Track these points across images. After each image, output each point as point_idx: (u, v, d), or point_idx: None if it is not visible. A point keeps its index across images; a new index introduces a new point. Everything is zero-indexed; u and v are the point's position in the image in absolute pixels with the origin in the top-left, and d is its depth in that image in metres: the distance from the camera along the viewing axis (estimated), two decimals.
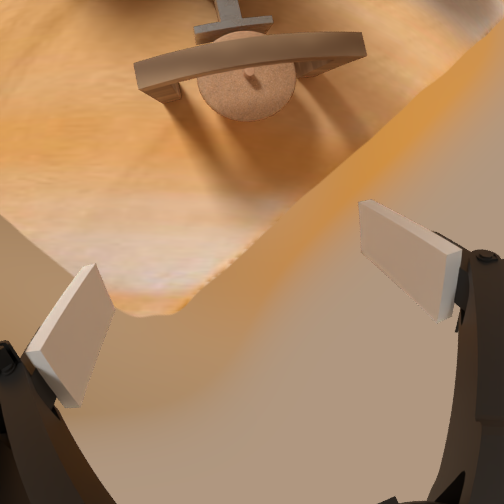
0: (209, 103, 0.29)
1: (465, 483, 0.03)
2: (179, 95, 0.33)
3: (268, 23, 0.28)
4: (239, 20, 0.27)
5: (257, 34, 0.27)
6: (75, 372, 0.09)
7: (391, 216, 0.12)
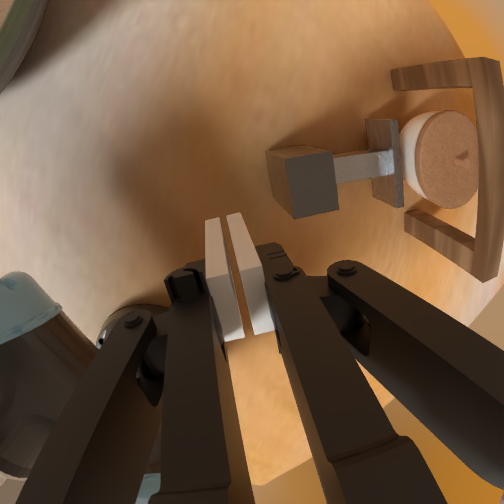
0: (470, 198, 0.28)
1: None
2: None
3: None
4: (395, 157, 0.27)
5: (425, 144, 0.25)
6: (237, 304, 0.12)
7: (236, 230, 0.14)
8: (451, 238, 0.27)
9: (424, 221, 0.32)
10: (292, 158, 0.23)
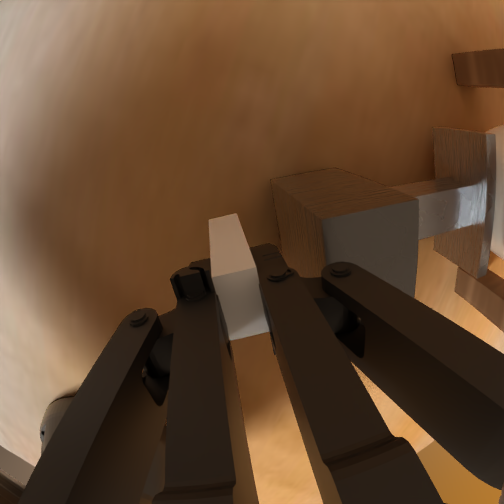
0: None
1: None
2: (494, 273, 0.20)
3: None
4: (488, 199, 0.14)
5: None
6: None
7: (231, 231, 0.14)
8: None
9: (489, 285, 0.19)
10: (339, 218, 0.10)
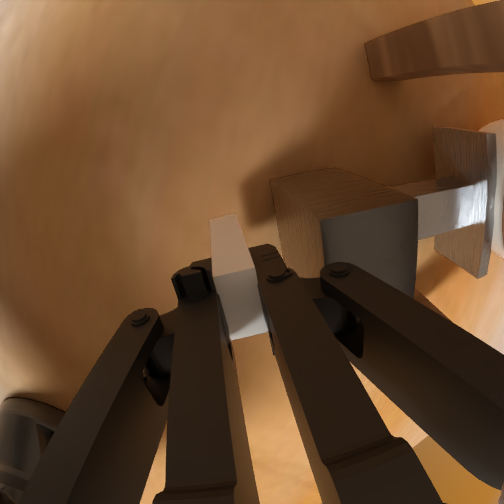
0: None
1: None
2: (429, 302, 0.20)
3: None
4: (488, 199, 0.13)
5: None
6: None
7: (230, 231, 0.14)
8: None
9: None
10: (337, 218, 0.10)
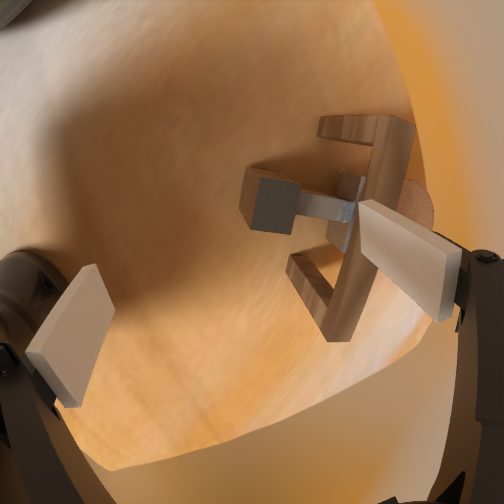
0: None
1: (465, 483, 0.03)
2: (313, 265, 0.38)
3: None
4: (355, 209, 0.33)
5: None
6: (75, 372, 0.09)
7: (391, 216, 0.12)
8: (314, 290, 0.32)
9: (302, 267, 0.37)
10: (267, 178, 0.27)
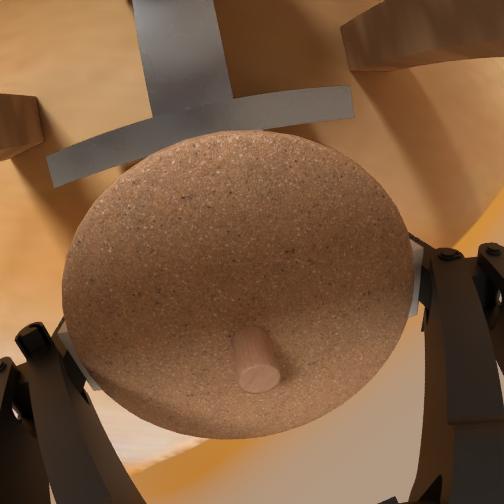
0: (142, 418, 0.09)
1: (443, 488, 0.03)
2: (14, 144, 0.09)
3: None
4: (218, 109, 0.07)
5: (283, 150, 0.06)
6: None
7: None
8: None
9: None
10: None
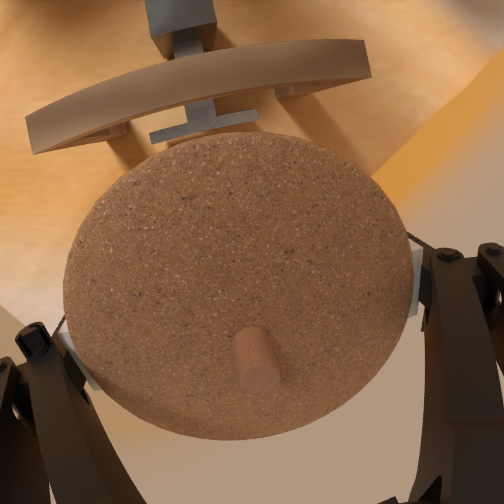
0: (142, 419, 0.09)
1: (443, 488, 0.03)
2: (120, 133, 0.25)
3: None
4: (211, 120, 0.23)
5: (283, 151, 0.07)
6: None
7: None
8: None
9: None
10: None
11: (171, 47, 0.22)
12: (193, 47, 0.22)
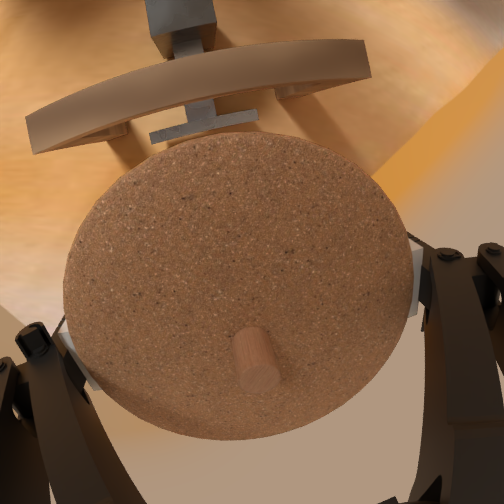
0: (142, 419, 0.09)
1: (443, 488, 0.03)
2: (120, 133, 0.25)
3: None
4: (211, 120, 0.23)
5: (283, 151, 0.07)
6: None
7: None
8: None
9: None
10: None
11: (171, 47, 0.22)
12: (193, 47, 0.22)
